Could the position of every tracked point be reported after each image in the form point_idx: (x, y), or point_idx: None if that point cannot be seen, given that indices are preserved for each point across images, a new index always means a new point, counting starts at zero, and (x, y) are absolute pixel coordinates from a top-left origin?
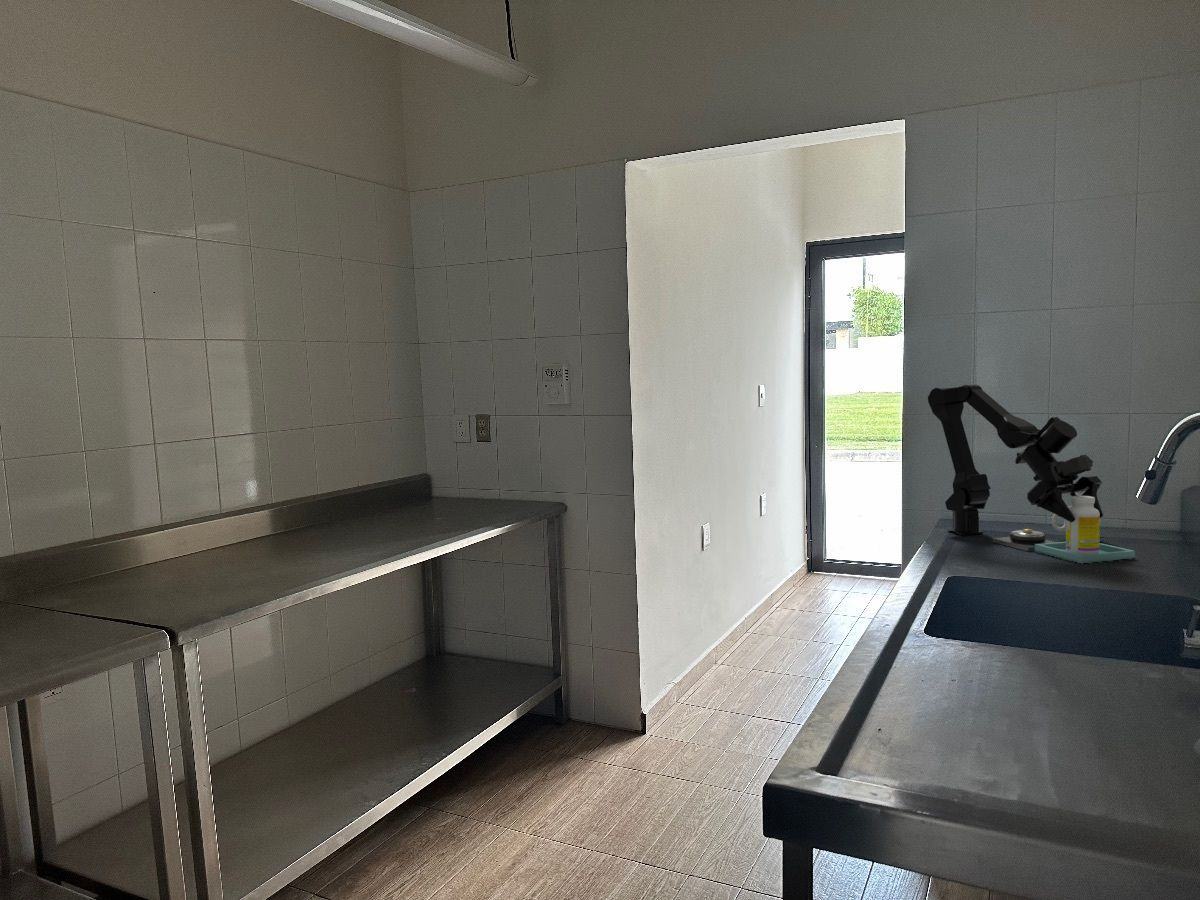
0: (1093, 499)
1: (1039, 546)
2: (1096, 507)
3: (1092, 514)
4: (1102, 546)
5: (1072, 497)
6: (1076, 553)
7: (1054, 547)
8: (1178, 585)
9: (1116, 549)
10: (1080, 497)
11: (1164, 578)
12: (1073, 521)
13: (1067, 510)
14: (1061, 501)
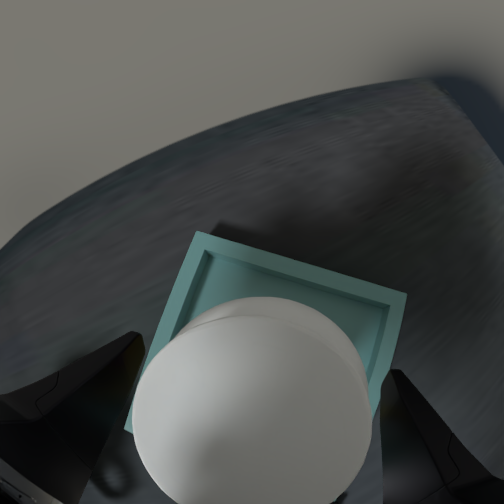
0: (247, 316)
1: None
2: (109, 371)
3: (309, 307)
4: None
5: (341, 492)
6: (386, 329)
7: None
8: (388, 93)
9: (189, 293)
10: (290, 443)
11: (363, 117)
12: (383, 380)
13: (432, 412)
14: (464, 467)
